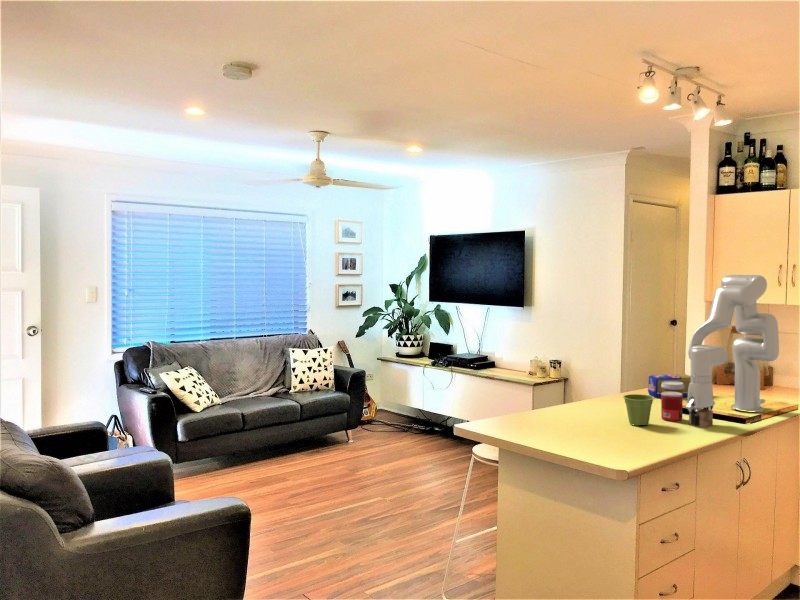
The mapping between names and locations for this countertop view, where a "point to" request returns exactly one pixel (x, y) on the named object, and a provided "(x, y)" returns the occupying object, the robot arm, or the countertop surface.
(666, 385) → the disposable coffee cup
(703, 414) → the walnut block
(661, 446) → the countertop surface
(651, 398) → the plant pot
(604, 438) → the countertop surface
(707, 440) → the countertop surface
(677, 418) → the canned food
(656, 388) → the bread
